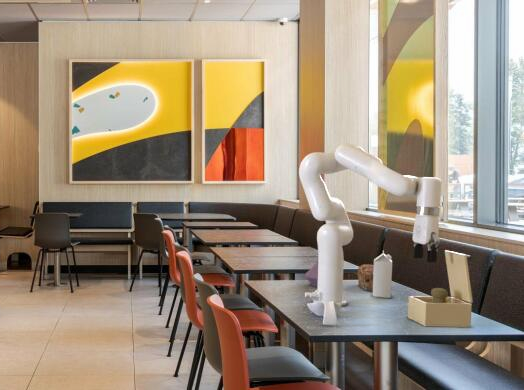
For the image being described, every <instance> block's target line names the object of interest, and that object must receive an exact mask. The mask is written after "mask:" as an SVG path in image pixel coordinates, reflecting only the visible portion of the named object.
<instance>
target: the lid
mask: <svg viewBox="0 0 524 390" xmlns="http://www.w3.org/2000/svg"><path fill="white" fill-rule="evenodd" d="M444 256H445V264H446V270H447V278H448V283H449V292H450V297H453V298H456V299H459V300H462V301H464V302H467V303H470V304H472V303H474V301H473V293H472V286H471V280H470V279H471V278H470V272H469V265H468V261H470V262H471V261H474V256H473V255H469V254H465V253H461V252H460V253H459V252H456V251H450V250H447V249H445V250H444Z"/></svg>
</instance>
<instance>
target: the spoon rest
mask: <svg viewBox="0 0 524 390" xmlns="http://www.w3.org/2000/svg"><path fill="white" fill-rule="evenodd" d="M306 305H307V308H308V309H309V311H310V312H312V313H313V314H314V315H315V316H318V317H323V319H322V325H323V326H338V325H339V322H338V315H337V313H339V312H340V310H341V308H342V306H341V305H339V304H337V303H335V302H334V301H331V302H326V301H318V302H315V303H314V302H307V303H306Z"/></svg>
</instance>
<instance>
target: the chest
mask: <svg viewBox="0 0 524 390" xmlns="http://www.w3.org/2000/svg"><path fill="white" fill-rule="evenodd" d="M432 299H433V297H432V295H431V296H429V295H428V296H426V295H425V296H424V295H422V296H421V295H408V305H407V306H408V308H407V313H408V314H407V319H409V320H411V321H414V322H416V323H418V324H420V325H422V326H424V327H443V328H444V327H448V328H449V327H450V328H472V308H473V307H472V303H470V302H467V301H464V300H461V299H459V298H456V297H453V296H447V298H446V303H432Z"/></svg>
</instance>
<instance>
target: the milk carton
mask: <svg viewBox="0 0 524 390" xmlns="http://www.w3.org/2000/svg"><path fill="white" fill-rule="evenodd" d="M384 252H385V251H384V250H382V253H381V254H380V255H379V256H377V257H375V258H374V259H373V265H374V272H373V291H372V297H375V298H386V299H391V298H392V280H393V279H392V277H393V260H392V259H393V258H392V255H390V254H389V253H387V254H386V253H384Z"/></svg>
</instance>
